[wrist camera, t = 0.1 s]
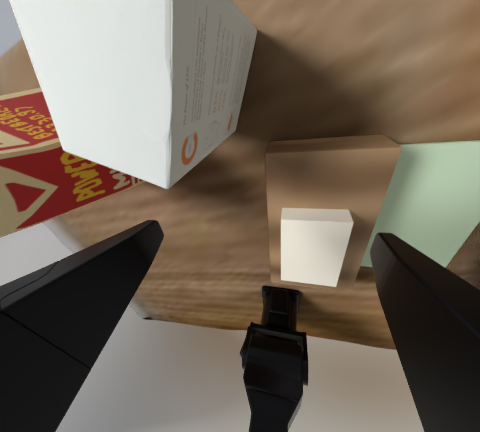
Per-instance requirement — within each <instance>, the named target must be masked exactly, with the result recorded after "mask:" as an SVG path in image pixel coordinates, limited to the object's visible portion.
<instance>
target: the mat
mask: <svg viewBox="0 0 480 432" xmlns="http://www.w3.org/2000/svg"><path fill="white" fill-rule="evenodd" d="M400 146H401V147H402V150H401V152H400V155H399V158H398V161H397V164H396V167H395V169H394V172H393V175H392V178H391V181H390V184H389V186H388V189H387V192H386V195H385V198H384V200H383V203H382V206H381V209H380V212H379V215H378V217H377V220H376V223H375V226H374V229H373V231H372V234H371V237H370V240H369V243H368V246H367V248H366V251H365V254H364V257H363V260H362V262H361V265H360V266H366V267H372V263H371V258H370V249H371V246H372V243H373V240H374V238H375V235H376V234H377V233H379V232H385V233H393V234H394V235H396V236H397V237H399V238H400V239H402V240H404V241H405V242H407V243H408V244H410V245H411V246H413V247H414V248H416V249H417V250H419V251H420V252H422V253H423V254H425V255H426V256H428V257H430V258H431V259H433V260H434V261H436V262H437V263H439V264H440V265H442V266H443V267H446V266H447V265H448V263H449V262H450V261H451V259H452V258H453V257H454V255H455V254H456V253H457V251H458V250H459V249H460V247H461V246H462V245H463V243H464V242H465V240H466V239H467V238H468V236H469V235H470V234H471V232H472V231H473V230H474V228H475V227H476V226H477V224H478V223H479V222H480V140H477V141H458V142H439V143H420V144H401V145H400Z"/></svg>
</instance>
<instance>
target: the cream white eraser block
mask: <svg viewBox="0 0 480 432" xmlns="http://www.w3.org/2000/svg"><path fill="white" fill-rule="evenodd" d="M353 223H354V222H353V220H352V217H351V215H350V212H349V210H347V209H309V208H282V214H281V280H284V281H292V282H300V283H308V284H316V285H324V286H332V287H336V285H337V282H338V278H339V274H340V271H341V267H342V263H343V260H344V256H345V252H346V249H347V245H348V241H349V238H350V234H351V230H352V227H353Z"/></svg>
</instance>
